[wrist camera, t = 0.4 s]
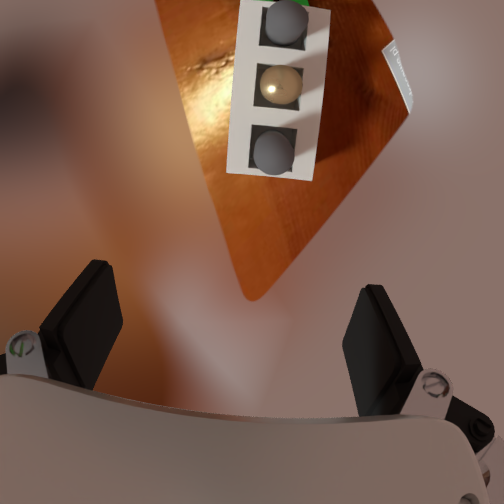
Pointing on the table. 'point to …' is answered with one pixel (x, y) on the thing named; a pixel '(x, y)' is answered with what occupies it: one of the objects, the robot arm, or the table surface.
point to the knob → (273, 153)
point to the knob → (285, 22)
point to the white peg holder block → (271, 114)
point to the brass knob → (281, 84)
